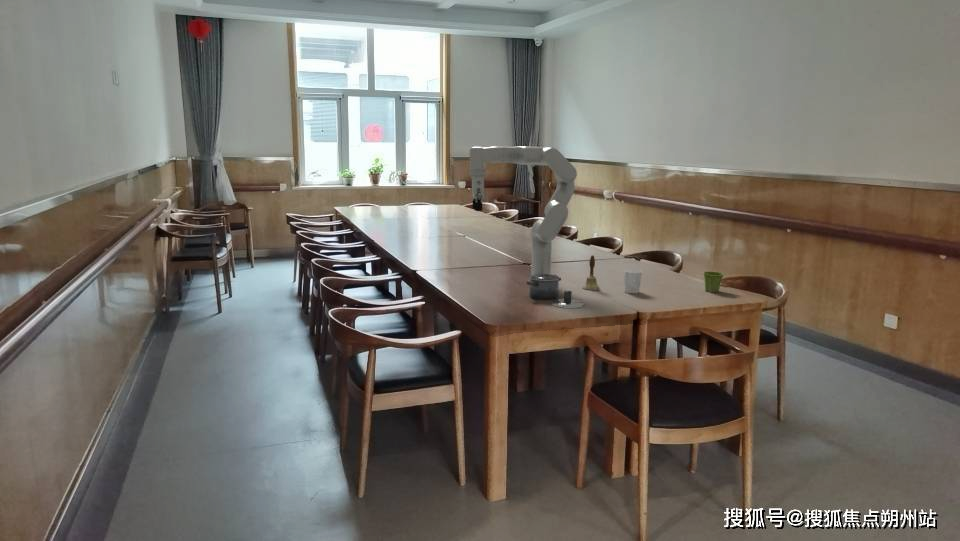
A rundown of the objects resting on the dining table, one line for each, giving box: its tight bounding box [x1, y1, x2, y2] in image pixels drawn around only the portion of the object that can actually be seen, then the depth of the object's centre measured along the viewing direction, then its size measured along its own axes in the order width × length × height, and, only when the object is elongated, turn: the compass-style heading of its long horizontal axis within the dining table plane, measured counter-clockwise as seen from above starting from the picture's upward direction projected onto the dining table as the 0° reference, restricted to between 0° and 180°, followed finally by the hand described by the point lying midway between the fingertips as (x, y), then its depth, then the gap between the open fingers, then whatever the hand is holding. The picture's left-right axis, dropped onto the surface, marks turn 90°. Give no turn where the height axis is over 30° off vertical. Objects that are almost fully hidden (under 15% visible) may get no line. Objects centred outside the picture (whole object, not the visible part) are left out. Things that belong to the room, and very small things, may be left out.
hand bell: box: [582, 255, 601, 291], centre depth 308 cm, size 8×8×16 cm
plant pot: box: [702, 271, 725, 293], centre depth 306 cm, size 9×9×9 cm
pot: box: [526, 274, 562, 301], centre depth 292 cm, size 18×13×9 cm
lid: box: [550, 290, 585, 309], centre depth 279 cm, size 14×14×6 cm
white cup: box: [623, 269, 642, 294], centre depth 302 cm, size 8×8×10 cm
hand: (477, 209), depth 306 cm, fingers open, 9 cm apart
